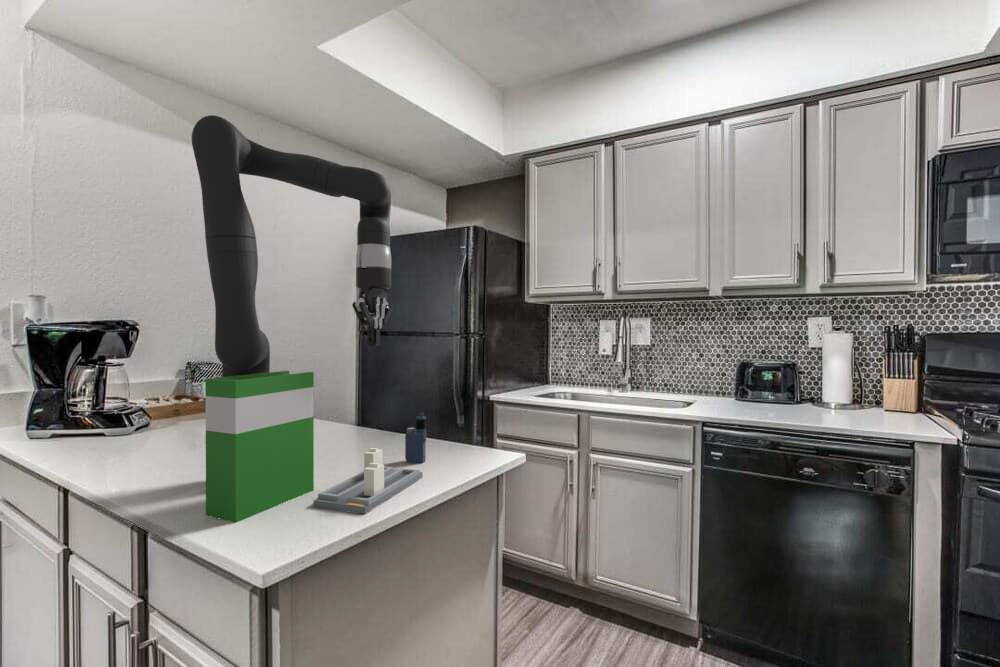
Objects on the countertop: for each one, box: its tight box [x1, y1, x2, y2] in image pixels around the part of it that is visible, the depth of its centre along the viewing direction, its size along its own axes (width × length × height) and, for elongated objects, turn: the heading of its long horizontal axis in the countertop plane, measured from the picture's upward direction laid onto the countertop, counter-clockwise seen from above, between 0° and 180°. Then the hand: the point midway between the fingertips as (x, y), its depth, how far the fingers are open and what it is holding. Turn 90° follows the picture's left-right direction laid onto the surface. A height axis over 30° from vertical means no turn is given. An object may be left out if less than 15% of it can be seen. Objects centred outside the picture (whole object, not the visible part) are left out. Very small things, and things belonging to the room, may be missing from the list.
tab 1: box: [363, 447, 383, 469], centre depth 104 cm, size 2×4×6 cm, turn 162°
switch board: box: [313, 465, 424, 515], centre depth 98 cm, size 11×22×2 cm, turn 162°
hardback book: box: [204, 370, 315, 523], centre depth 91 cm, size 18×7×24 cm, turn 157°
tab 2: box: [363, 463, 385, 496], centre depth 92 cm, size 2×4×6 cm, turn 162°
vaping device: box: [404, 412, 427, 464], centre depth 119 cm, size 3×5×12 cm, turn 79°
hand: (373, 345), depth 107 cm, fingers closed
